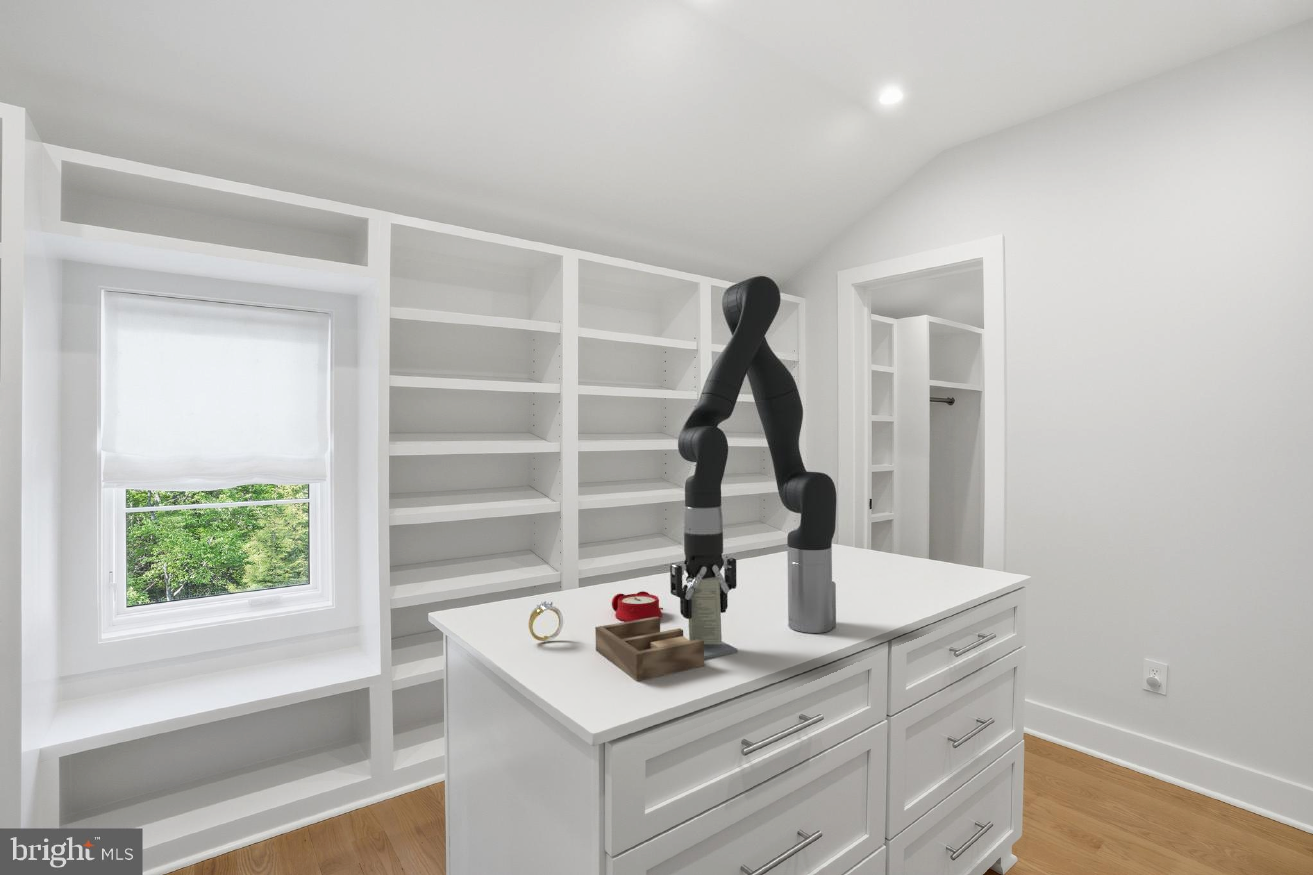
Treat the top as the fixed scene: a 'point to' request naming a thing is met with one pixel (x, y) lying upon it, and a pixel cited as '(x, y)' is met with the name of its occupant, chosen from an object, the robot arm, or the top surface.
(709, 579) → the skincare box
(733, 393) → the robot arm
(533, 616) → the engagement ring
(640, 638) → the walnut rack
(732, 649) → the slate mat
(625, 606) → the alarm clock
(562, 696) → the top surface
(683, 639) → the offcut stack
